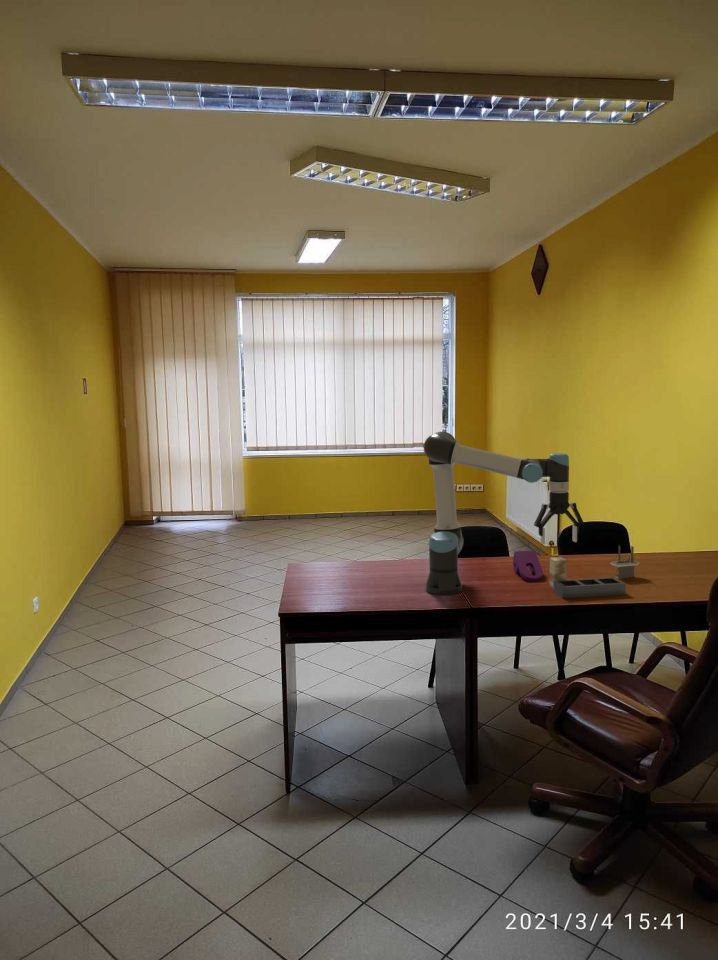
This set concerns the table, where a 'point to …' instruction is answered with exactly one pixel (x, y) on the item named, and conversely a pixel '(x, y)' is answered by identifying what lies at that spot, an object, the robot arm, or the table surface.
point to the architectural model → (625, 565)
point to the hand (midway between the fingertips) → (558, 542)
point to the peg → (557, 570)
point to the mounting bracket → (524, 560)
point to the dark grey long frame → (589, 587)
